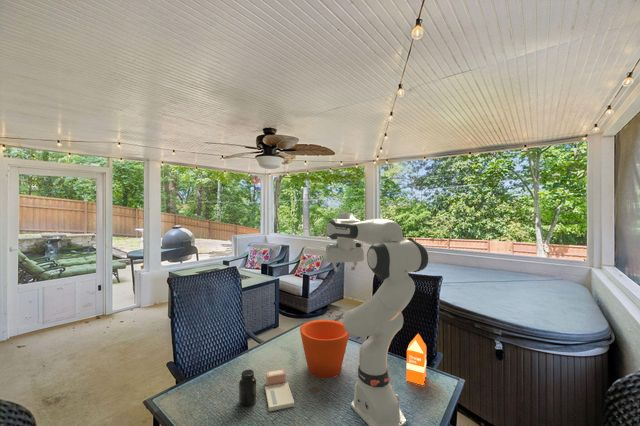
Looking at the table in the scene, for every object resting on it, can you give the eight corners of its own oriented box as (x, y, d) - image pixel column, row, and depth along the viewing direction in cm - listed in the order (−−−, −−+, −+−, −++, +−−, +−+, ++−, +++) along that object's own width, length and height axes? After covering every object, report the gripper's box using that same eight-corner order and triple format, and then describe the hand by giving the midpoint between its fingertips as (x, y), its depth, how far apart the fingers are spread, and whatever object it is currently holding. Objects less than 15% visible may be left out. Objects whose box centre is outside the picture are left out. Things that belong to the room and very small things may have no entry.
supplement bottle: (249, 394, 117) (249, 366, 117) (259, 401, 113) (260, 371, 113) (235, 402, 112) (235, 373, 112) (245, 410, 107) (245, 379, 107)
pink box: (285, 385, 123) (285, 373, 123) (267, 388, 121) (267, 376, 121) (283, 380, 127) (283, 368, 127) (266, 383, 125) (266, 371, 125)
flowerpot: (349, 357, 148) (349, 320, 148) (349, 386, 123) (350, 342, 124) (303, 354, 151) (304, 318, 151) (294, 382, 126) (295, 338, 126)
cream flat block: (294, 406, 110) (294, 402, 110) (269, 411, 107) (269, 407, 107) (287, 385, 123) (287, 381, 123) (265, 389, 120) (265, 385, 120)
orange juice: (406, 381, 128) (406, 338, 128) (409, 372, 135) (409, 331, 136) (424, 386, 124) (424, 341, 124) (426, 376, 132) (426, 334, 132)
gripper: (328, 244, 136) (327, 272, 136) (365, 244, 143) (365, 271, 142) (324, 243, 142) (323, 270, 142) (360, 242, 149) (359, 268, 148)
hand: (344, 270), depth 142 cm, fingers open, 8 cm apart
